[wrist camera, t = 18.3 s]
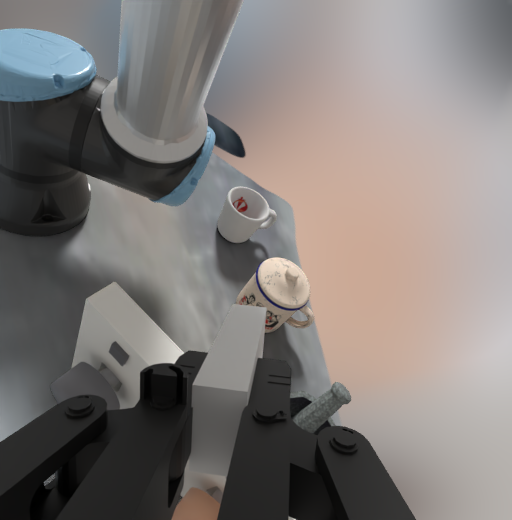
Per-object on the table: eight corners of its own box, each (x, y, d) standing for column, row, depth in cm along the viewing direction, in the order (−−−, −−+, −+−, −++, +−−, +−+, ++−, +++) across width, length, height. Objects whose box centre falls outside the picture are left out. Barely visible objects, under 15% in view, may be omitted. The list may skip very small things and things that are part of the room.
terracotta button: (204, 570, 34) (228, 572, 30) (159, 520, 35) (177, 514, 31) (260, 481, 41) (287, 472, 37) (222, 440, 42) (243, 426, 37)
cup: (259, 220, 75) (277, 192, 70) (268, 252, 71) (288, 225, 66) (208, 212, 70) (224, 182, 65) (215, 246, 66) (232, 217, 61)
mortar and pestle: (282, 502, 46) (338, 490, 38) (231, 443, 48) (274, 418, 39) (324, 435, 54) (378, 412, 46) (279, 386, 56) (323, 355, 47)
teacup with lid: (223, 310, 59) (254, 269, 51) (250, 277, 66) (282, 236, 57) (283, 357, 59) (324, 325, 51) (304, 320, 65) (343, 285, 57)
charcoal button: (89, 440, 36) (96, 424, 32) (49, 395, 37) (51, 374, 33) (160, 375, 43) (175, 354, 39) (125, 337, 44) (135, 314, 39)
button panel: (222, 547, 41) (307, 541, 28) (67, 375, 44) (81, 301, 31) (259, 488, 46) (345, 461, 34) (118, 337, 49) (148, 261, 37)
